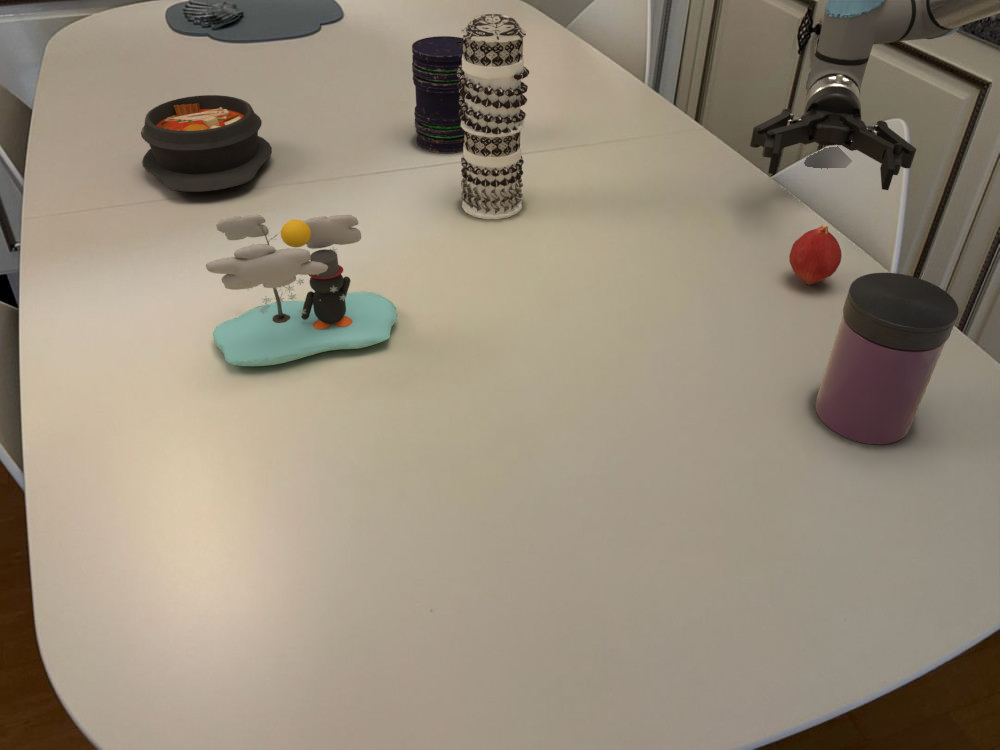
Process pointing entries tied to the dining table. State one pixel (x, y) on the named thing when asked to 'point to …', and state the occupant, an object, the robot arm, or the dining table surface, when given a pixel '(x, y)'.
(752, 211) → the dining table surface
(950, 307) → the jar lid
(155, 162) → the casserole
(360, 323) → the penguin figurine
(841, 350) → the jar
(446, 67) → the storage jar
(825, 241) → the red pomegranate
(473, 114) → the decorative candle
